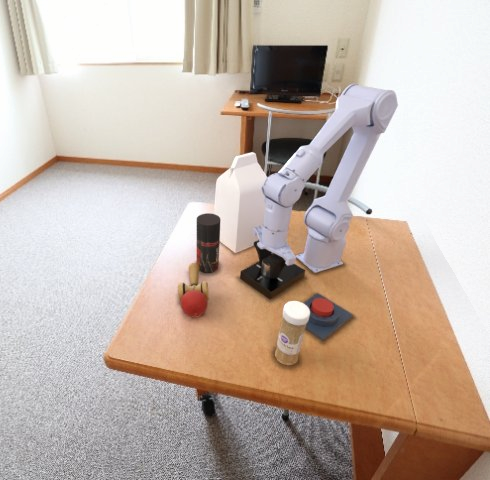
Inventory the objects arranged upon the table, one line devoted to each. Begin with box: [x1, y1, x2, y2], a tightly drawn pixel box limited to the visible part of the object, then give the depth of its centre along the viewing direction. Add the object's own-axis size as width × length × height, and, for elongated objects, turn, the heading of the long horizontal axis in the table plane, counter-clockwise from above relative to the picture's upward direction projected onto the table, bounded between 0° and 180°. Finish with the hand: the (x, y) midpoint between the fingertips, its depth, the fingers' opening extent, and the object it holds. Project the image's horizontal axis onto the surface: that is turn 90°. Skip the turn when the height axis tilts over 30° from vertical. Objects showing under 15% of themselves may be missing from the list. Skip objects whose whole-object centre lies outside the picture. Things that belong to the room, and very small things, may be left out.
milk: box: [213, 151, 268, 254], centre depth 99 cm, size 12×12×26 cm
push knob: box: [311, 298, 334, 317], centre depth 77 cm, size 4×4×2 cm
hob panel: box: [239, 252, 306, 300], centre depth 89 cm, size 13×10×3 cm
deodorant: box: [196, 212, 221, 275], centre depth 91 cm, size 6×6×15 cm
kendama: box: [177, 262, 210, 318], centre depth 85 cm, size 8×6×18 cm
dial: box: [261, 257, 271, 278], centre depth 87 cm, size 4×4×4 cm
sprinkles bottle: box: [274, 300, 310, 366], centre depth 66 cm, size 5×5×14 cm
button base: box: [303, 292, 354, 342], centre depth 78 cm, size 11×9×2 cm
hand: (269, 271), depth 88 cm, fingers closed on dial, 4 cm apart
